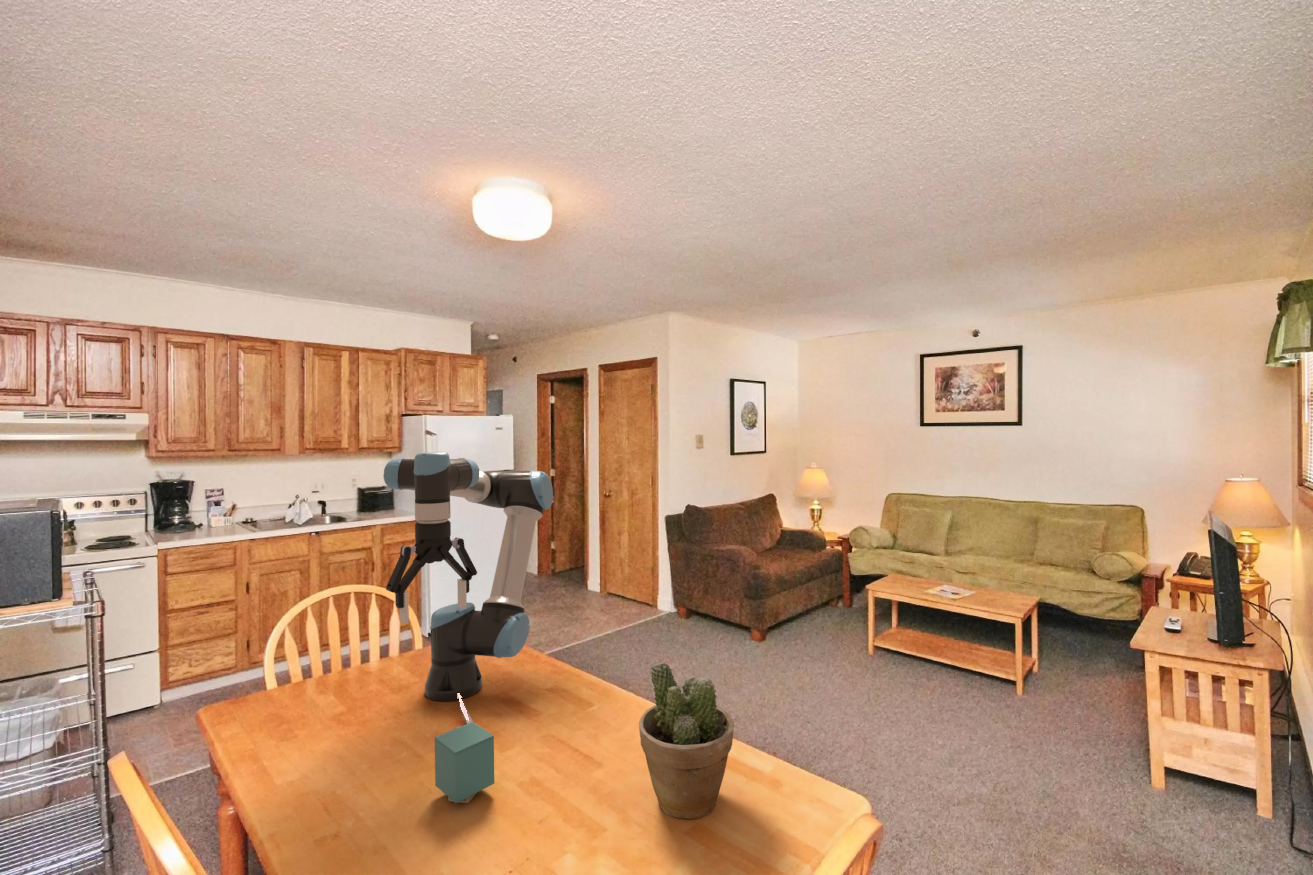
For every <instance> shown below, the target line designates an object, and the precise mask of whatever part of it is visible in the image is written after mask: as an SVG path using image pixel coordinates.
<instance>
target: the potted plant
mask: <svg viewBox="0 0 1313 875" xmlns="http://www.w3.org/2000/svg"><path fill="white" fill-rule="evenodd" d="M672 670H673V669H672V668H671V667H670V665H669V664H668V663H667V662H664V661H663V662H657V663H655V664H654V665H652V666H651V667H650V672H649V676H650V677H651V683H652V684H653V687H654V688H652V689H653V691H654V700H655V704H654V705H652V706H651V707H649V708H648V709H646V710H645V711H644V712H643V714H642V715H641V717H640V720H639V721H638V729H639V737H640V746H641V748H642V751H643V754H644V755H645V760H646V761H645V762H646V765H647V769H648V771H649V772H648V773H649V777H650V781H651V784H652V788H653V791H654V793H655V797H656V799H657V801H658V805H659V807H660V808H661V809H662V811H663V812H664V813H665V814H666V815H668V816H671V817H674V818H678V819H682V820H683V819H684V820H689V819H690V820H696V819H700V818H703V817H705V816H708V815H709V814H711V813H712V812H713V811H714V809H715V807H716V804H717V800H718V796H719V793H720V790H721V787H722V783H723V780H724V779H723V778H724V776H725V774H726V773H725V771H726V767H727V763H728V757H729V753H730V751H731V750H732V747H733V739H734V728H735V722H734V720H733V718H732V717H731V715H730V713H728V711H726V710H725V709H724V708H722V707H720V706H718V705H717V700H716V699H717V698H718V695H716V692H717V690H716V689H715V687H716V686H715V685H714V683H713V680H711V679H710V677H708V678H705V677H704V676H701V677H698V678H697V677H695V676H689V677H687V678H685V679H684V682H683V684H682V686H681V688H682V689H681V688H680V686H678V682H676V680H675V677H674V675H673V671H672Z"/></svg>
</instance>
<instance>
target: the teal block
mask: <svg viewBox="0 0 1313 875" xmlns="http://www.w3.org/2000/svg"><path fill="white" fill-rule="evenodd" d="M494 736H495V735H493V734H492V733H491V732H489V731H488V730H486V729H485V728H482V727H481V726H480V725H478V724H476V723H475V722H474V721H471V722H468V723H465V724H464V725H462V726H458V727H456V728H453V729H452V730H448V731H446V732H444V733H441V734H439V735H436V736H435V737H434V780H435V781H434V786H435V787H436V788H438V789H439V790H440V791H441V792H442V793H443V794H444V795H445V796H446V797H448V799H449V798H450V799H452V800H453V801H454V803H455V804H458V803H460V802H459V801H461V800H463V799H465V798H467V797H469V796H471V795H473V794H475V793H476V794H477V793H479V792H481V791H483V790H484V789H486V788H488V787H490V786H492V785H494V784H495V742H494V741H495V737H494ZM476 794H475V795H476Z"/></svg>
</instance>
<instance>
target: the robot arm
mask: <svg viewBox="0 0 1313 875" xmlns="http://www.w3.org/2000/svg"><path fill="white" fill-rule="evenodd" d="M382 475H383V476H382V477H383V481H384V483H385V485H386V486H387V487H388V488H389V489H391V490H399V491H402V490H410V491H414V520H415V521H417V522H415V524H414V532H415V533H414V540H415V543H414V545H412V546H411V545H409V546H408V545H401V547H400V553H399V558H398V560H397V562H396V564H395V566H394V569H393V571H392V573H391V576H390V577H389V580H388V582H387V585H386V587H385V590H386V591H387V592H390V593H394V595H395V607H396V608H397V609H399V622H401V623H403V624H406V625H407V624H409V623H410V622H409V621H410V620H409V618H410V617H409V616H410V615H409V609H410V608H409V607H410V606H409V592H407V591H406V590H407V588H408V587H409V586H410V585H411V583H412V582H413V581H414V579H415V578H416V577H417V574H418V573H419V572H420V571H421V570H422V568H423V567H424V566H425V565H426V564H433V563H435V562H438V563H441V562H443V561H445V563H447V565H448V566H449V567H451V569H452V570H453V571H454V572H455V573H456V574H457V575H458V576H459V577H460V578H457V582H456V583H457V603H453V604H449V605H446V606H443V607H440V608H438V609H436V610H435V611H433V613H432V614H431V617H430V627H429V630H430V656H431V660H430V661H431V664H430V668H429V670H428V671H429V672H428V675H427V677H426V681H425V685H424V695H425V697H427V699H429V700H432V701H437V702H449V701H450V702H452V701H458V700H457V693H460V695H461V696H462V697H463V698H462V699H465V698H469V697H470V696H473V695H475V694H476V693H478V692H479V691H481V690H482V688H483V676H482V673H481V671H480V670H481V669H480V668H479V664H478V662H477V660H476V656H484V657H495V658H498V659H501V658H512V657H516V656H517V655H518V654H520V652H521V651H522V650H523V648H524V647H525V645H526V642H527V640H528V637H529V633H530V618H529V616H528V614H526V613H525V610H526V608H525V607H524V605H523V603H522V597H523V591H524V585H525V581H526V576H527V571H528V566H529V560H530V555H531V550H532V544H533V539H534V534H535V529H536V525H537V524H536V523H537V521H539V520H541V519H542V517H543V514H544V511H547V510H548V509H550V508H551V506H552V505H553V501H554V491H553V489H554V488H553V485H552V480H551V478H550V477H549V475H548V474H547V473H546V472H544V471H540V470H539V471H538V470H533V469H531V470H492V471H481V470H480V467H479V466H478V464H477V462H475V461H474V460H473V459H470V458H465V457H462V458H461V457H460V458H450V454H449V453H448V452H445V451H444V452H442V451H441V452H439V451H434V452H433V451H432V452H418V453H416V454H415V456H414V458H402V457H401V458H396V459H391V460H389V461H387V463H386V465H385V466H384V469H383V474H382ZM451 497H456V498H464V499H465V500H466V501H468V502H469V503H472V504H478V505H482V506H487V507H491V508H495V509H496V508H497V509H503V512H504V514H505V515H506V521H505V526H504V530H503V535H502V539H501V545H500V549H499V553H498V559H497V563H496V568H495V572H494V577H493V581H492V585H491V591H490V594H489V595H490V596H489V598H487V599H486V600H484V601H483V602H482V606H481V610H476V606H475V604H474V603H473V602H467V594H468V593H469V592H470V581H471V580H472V579H473V577H474V576H477V574H478V570H477V569H476V566H475V565H474V563H473V561H472V559H471V557H470V555H469V553H468V552H467V549H466V547H465V540H464V539H463V538H461V537H455V538H453V539H451V537H452V536H451V535H452V532H451V531H452V530H451V527H452V526H451V521H450V520H449V519H451V517H452V516H451V515H452V514H451ZM451 548H453V549H455V552H456V553H457V556H458V557H459V559H460V561H461V562H462V565H463V566H462V565H461V564H460V563H459V562H458V561H457V559H455V557H454V556H453V555H452V553H451V552H450V551H451ZM414 553H415V554H416V556H415V557H414V559H413V560H412V563H411V564H410V566H409V568H408V569H407V567H408V564H409V562H410V560H411V557H412V556H413V554H414ZM463 567H464V568H463ZM406 569H407V570H406Z"/></svg>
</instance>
